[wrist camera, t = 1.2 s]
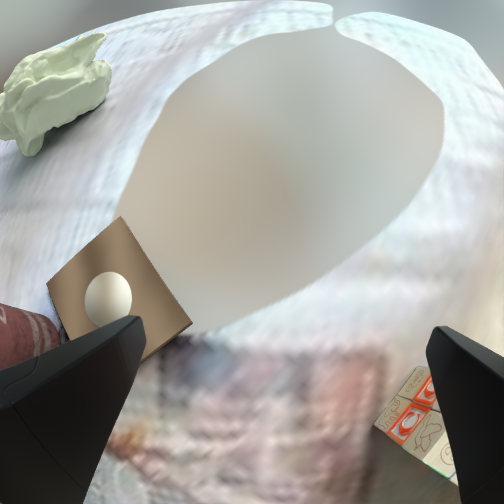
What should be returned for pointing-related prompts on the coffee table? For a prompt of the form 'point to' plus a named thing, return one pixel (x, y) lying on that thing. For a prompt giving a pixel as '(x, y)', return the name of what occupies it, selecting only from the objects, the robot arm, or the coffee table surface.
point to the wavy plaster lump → (52, 91)
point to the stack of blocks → (419, 424)
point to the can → (24, 335)
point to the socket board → (116, 290)
